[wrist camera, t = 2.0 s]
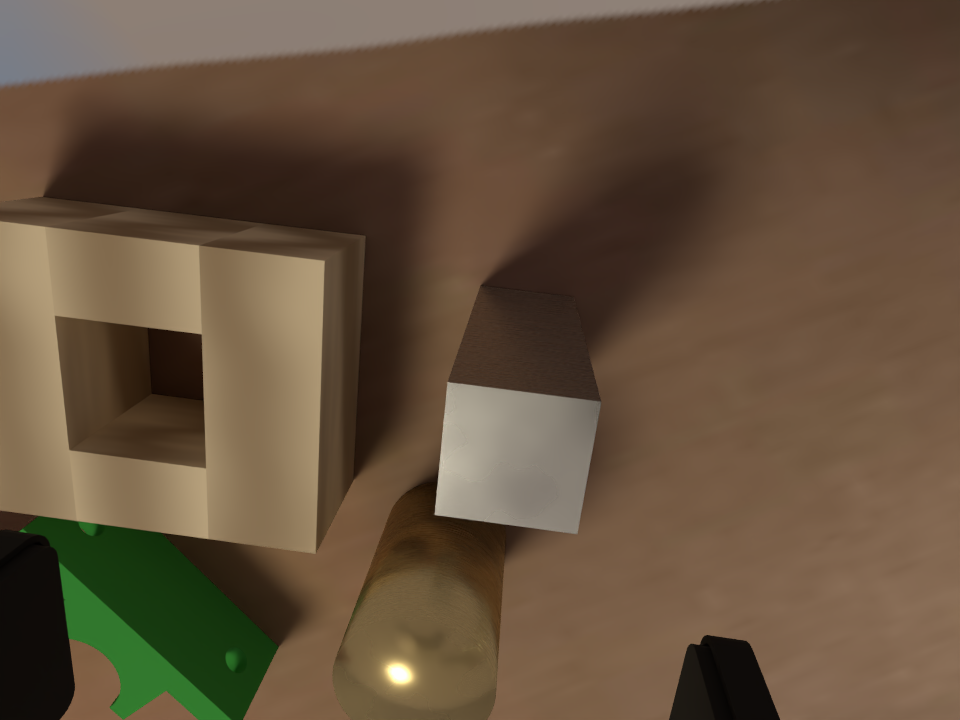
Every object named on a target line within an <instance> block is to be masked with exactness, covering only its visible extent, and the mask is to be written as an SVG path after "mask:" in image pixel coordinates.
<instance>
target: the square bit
mask: <svg viewBox="0 0 960 720" xmlns="http://www.w3.org/2000/svg"><path fill="white" fill-rule="evenodd" d="M600 406H601V399H600V395H599V391H598V387H597V384H596V380H595V376H594V372H593V368H592V364H591V361H590V357H589V353H588V349H587V345H586V342H585V338H584V334H583V330H582V326H581V322H580V319H579V315H578V311H577V307H576V303H575V300H574V297H571V296H563V295H555V294H547V293H539V292H530V291H522V290H514V289H506V288H498V287H489V286H480V289H479V292H478V295H477V297H476V300H475V303H474V306H473V309H472V312H471V315H470V318H469V321H468V324H467V327H466V330H465V333H464V336H463V339H462V342H461V344H460V347H459V350H458V353H457V356H456V359H455V362H454V365H453V368H452V371H451V374H450V377H449V380H448V384H447V394H446V404H445V414H444V425H443V435H442V445H441V455H440V465H439V476H438V486H437V496H436V506H435V515H439V516H446V517H454V518H461V519H469V520H476V521H484V522H491V523H498V524H506V525H513V526H521V527H528V528H536V529H543V530H550V531H558V532H565V533H573V534H577V532H578V527H579V521H580V516H581V510H582V505H583V499H584V494H585V488H586V483H587V477H588V472H589V466H590V461H591V455H592V450H593V444H594V439H595V433H596V428H597V422H598V417H599V411H600Z"/></svg>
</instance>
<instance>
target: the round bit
mask: <svg viewBox="0 0 960 720" xmlns="http://www.w3.org/2000/svg"><path fill="white" fill-rule="evenodd" d="M437 486H438V482H433V483H427V484H424V485H420V486H418V487H416V488H413V489H412V490H410V491H408V492H407V493H406V494H404V495H403V496H402V497H401V498H400V499H399V500H398V501H397V502H396V504H395V505H394V507H393V508H392V510H391V512H390V515H389V517H388V520H387V523H386V525H385V528H384V531H383V533H382V536H381V539H380V541H379V544H378V547H377V549H376V552H375V555H374V557H373V560H372V563H371V565H370V568H369V571H368V573H367V576H366V579H365V581H364V584H363V587H362V590H361V592H360V595H359V598H358V600H357V603H356V606H355V608H354V611H353V614H352V616H351V619H350V622H349V624H348V627H347V630H346V632H345V635H344V638H343V640H342V643H341V646H340V648H339V651H338V654H337V657H336V660H335V663H334V666H333V686H334V691H335V694H336V696H337V699H338V701H339V703H340V705H341V707H342V708H343V710H344V711H345V712H346V714H347V715H348V716H349V717H350V718H351V719H352V720H487V718H488V717H489V715H490V713H491V711H492V709H493V706H494V703H495V698H496V684H497V669H498V653H499V637H500V622H501V606H502V590H503V574H504V559H505V543H506V531H505V526H504V524H498V523H491V522H484V521H476V520H469V519H461V518H454V517H446V516H439V515H435V506H436V496H437Z"/></svg>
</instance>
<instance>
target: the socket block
mask: <svg viewBox="0 0 960 720" xmlns="http://www.w3.org/2000/svg"><path fill="white" fill-rule="evenodd" d="M365 239H366V236H364V235H355V234H347V233H339V232H330V231H322V230H314V229H305V228H297V227H289V226H280V225H272V224H264V223H255V222H247V221H239V220H230V219H222V218H214V217H206V216H197V215H189V214H181V213H172V212H164V211H156V210H147V209H139V208H131V207H122V206H114V205H106V204H97V203H89V202H81V201H72V200H64V199H56V198H48V197H36V198H29V199H21V200H13V201H5V202H0V510H1V511H8V512H15V513H23V514H30V515H37V516H45V517H52V518H59V519H66V520H74V521H81V522H88V523H95V524H103V525H110V526H117V527H125V528H132V529H139V530H146V531H154V532H161V533H168V534H176V535H183V536H190V537H197V538H205V539H212V540H219V541H226V542H234V543H241V544H248V545H256V546H263V547H270V548H277V549H285V550H292V551H299V552H307V553H314V554H316V552H317V550H318V548H319V546H320V544H321V542H322V541H323V539H324V537H325V535H326V533H327V531H328V529H329V527H330V525H331V523H332V521H333V519H334V517H335V515H336V513H337V511H338V509H339V507H340V506H341V504H342V502H343V500H344V498H345V496H346V494H347V492H348V490H349V488H350V486H351V484H352V482H353V478H354V458H355V438H356V418H357V398H358V378H359V358H360V338H361V318H362V298H363V279H364V259H365ZM148 328H156V329H164V330H172V331H180V332H188V333H196V334H202V356H203V386H204V401H202V400H195V399H187V398H179V397H172V396H164V395H156V394H152V391H151V375H150V358H149V342H148Z"/></svg>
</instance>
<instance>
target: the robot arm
mask: <svg viewBox="0 0 960 720" xmlns="http://www.w3.org/2000/svg"><path fill="white" fill-rule="evenodd" d="M74 691H75V682H74V675H73V667H72V659H71V652H70V644H69V636H68V629H67V621H66V613H65V606H64V598H63V590H62V582H61V575H60V567H59V559H58V554H57V551H56V550H55V549H54V548H53V547H51V546H50V543H49V540H48V539H47V538H46V537H45V536H42V535H38V534H31V533H25V532H18V531H11V530H1V531H0V720H60V718H61V717H62V716H63V715H64V714H65V712H66V711H67V709H68V707H69V706H70V704H71V701H72V699H73V696H74ZM669 720H780V718H779V716H778V713H777V711H776V708H775V705H774V703H773V700H772V698H771V695H770V693H769V690H768V688H767V685H766V683H765V680H764V677H763V675H762V672H761V670H760V667H759V665H758V662H757V660H756V657H755V655H754V652H753V650H752V648H751V646H750V644H749V643H748V642H747V641H743V640H736V639H730V638H723V637H716V636H710V635H706V636H704V637H703V639H702V641H701V644H700V645H696V644H690V645H689V646H688V648H687V651H686V655H685V659H684V663H683V667H682V671H681V675H680V679H679V683H678V687H677V691H676V695H675V699H674V703H673V707H672V711H671V715H670V718H669Z"/></svg>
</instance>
